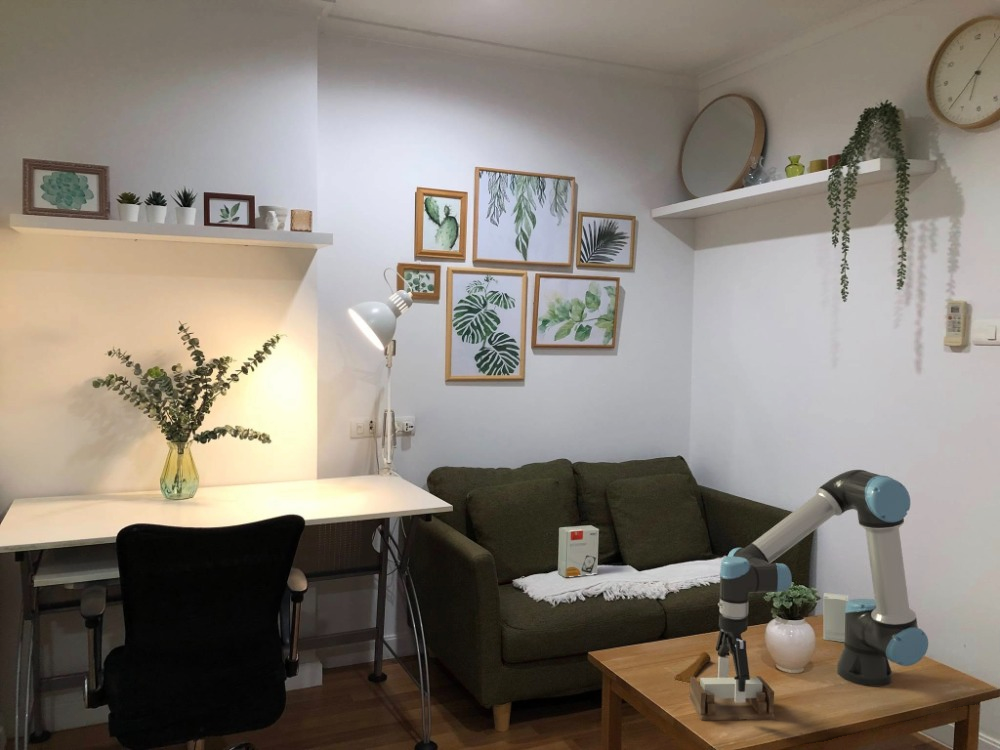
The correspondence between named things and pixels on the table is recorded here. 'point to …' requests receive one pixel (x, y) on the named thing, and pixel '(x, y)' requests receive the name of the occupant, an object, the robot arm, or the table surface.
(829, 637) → the skincare box
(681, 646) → the table surface
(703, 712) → the rack
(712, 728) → the table surface
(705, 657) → the primitive tool
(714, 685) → the strip
